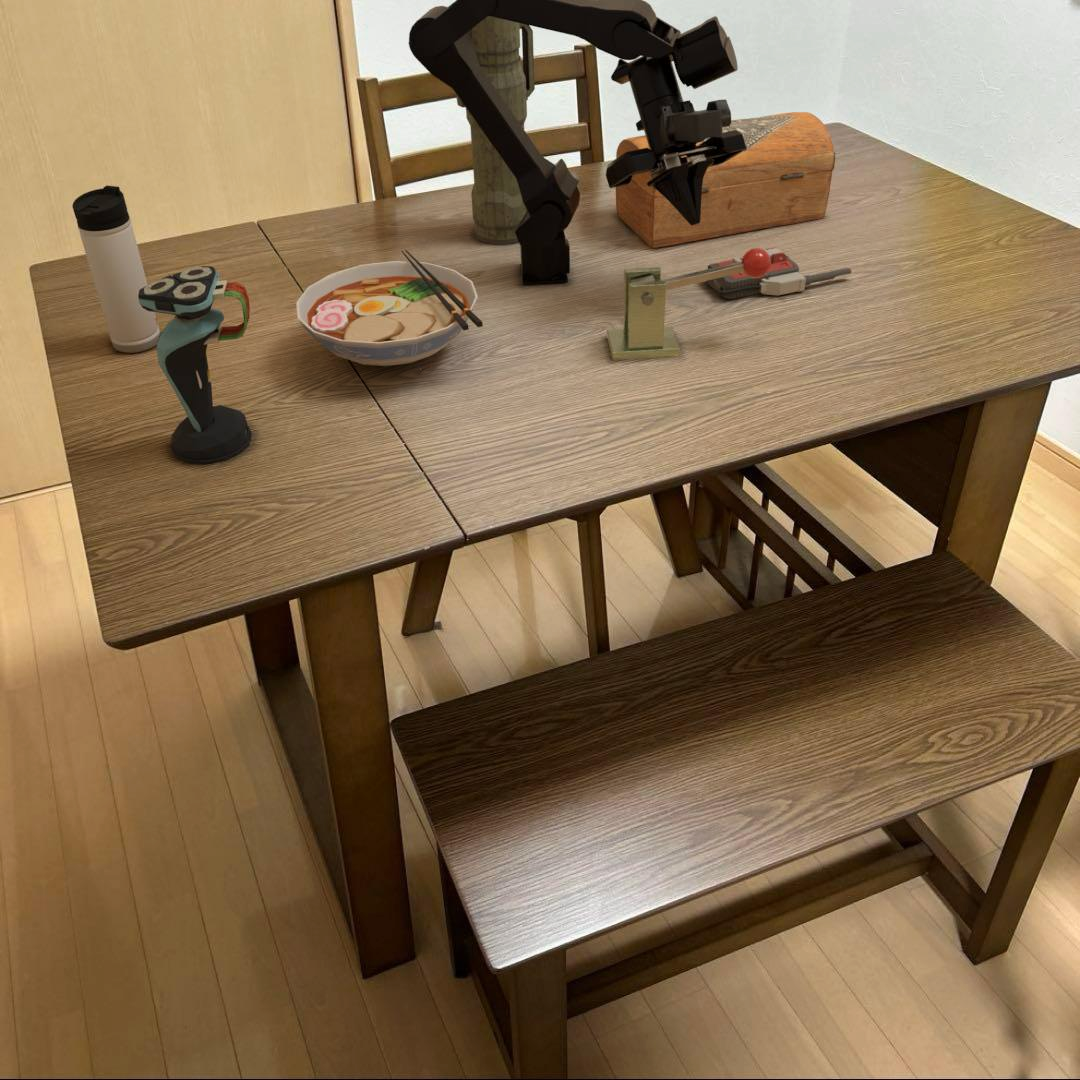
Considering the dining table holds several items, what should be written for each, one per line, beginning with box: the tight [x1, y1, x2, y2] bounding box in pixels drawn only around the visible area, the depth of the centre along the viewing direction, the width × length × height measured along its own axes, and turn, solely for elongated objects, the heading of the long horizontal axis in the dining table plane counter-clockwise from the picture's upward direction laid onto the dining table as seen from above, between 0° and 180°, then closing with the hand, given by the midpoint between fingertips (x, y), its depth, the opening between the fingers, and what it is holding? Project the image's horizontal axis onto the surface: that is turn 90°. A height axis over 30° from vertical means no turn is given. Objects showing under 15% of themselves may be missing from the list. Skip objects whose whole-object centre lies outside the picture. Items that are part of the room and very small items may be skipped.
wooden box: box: [615, 111, 836, 248], centre depth 173 cm, size 30×16×14 cm, turn 109°
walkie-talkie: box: [706, 247, 852, 300], centre depth 157 cm, size 9×4×20 cm
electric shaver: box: [138, 265, 253, 465], centre depth 124 cm, size 9×12×20 cm
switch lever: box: [631, 247, 771, 291], centre depth 139 cm, size 17×4×4 cm, turn 94°
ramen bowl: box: [295, 249, 483, 367], centre depth 143 cm, size 25×23×8 cm
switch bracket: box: [606, 266, 681, 361], centre depth 141 cm, size 8×6×10 cm
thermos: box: [455, 17, 536, 245], centre depth 164 cm, size 9×12×35 cm
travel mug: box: [71, 185, 161, 354], centre depth 143 cm, size 6×7×20 cm
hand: (695, 224), depth 144 cm, fingers closed
